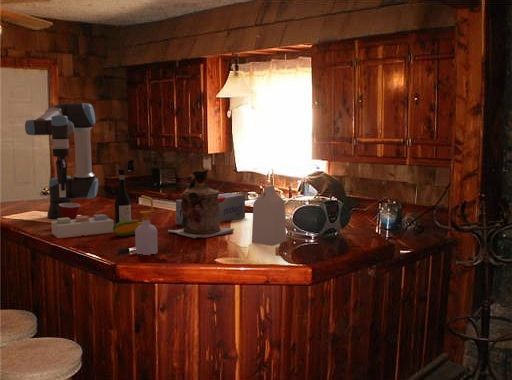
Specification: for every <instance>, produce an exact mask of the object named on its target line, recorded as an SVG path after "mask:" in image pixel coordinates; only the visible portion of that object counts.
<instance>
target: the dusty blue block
mask: <svg viewBox="0 0 512 380" xmlns="http://www.w3.org/2000/svg"><path fill="white" fill-rule="evenodd" d="M93 218H94V220H96V221H99V220H107V218H108V215H106V214H105V213H104V214H103V213H100V214H94V215H93Z"/></svg>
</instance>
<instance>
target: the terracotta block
mask: <svg viewBox="0 0 512 380" xmlns="http://www.w3.org/2000/svg"><path fill="white" fill-rule="evenodd" d="M89 218H90V216H88V215H78V216H77V217H76V222H85V221H89Z"/></svg>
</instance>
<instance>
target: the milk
mask: <svg viewBox="0 0 512 380" xmlns="http://www.w3.org/2000/svg"><path fill="white" fill-rule="evenodd" d="M252 206H253V207H252V224H251V225H252V227H251V228H252V230H251V231H252V232H251V244H257V245H264V246H269V247H270V246H271V247H274V246H277V245H280V244H282V243H284V242H285V243H286V242H287V225H286V222H287V221H286V205H285V200H284V199H283V197H281V196H280V195H279V194H278V193H277V192H276V189H275V185H273V184H271V185H266V186H265V185H264V189H263V193H261V194H260V195H259V197H257V198H256V199H255V201H254V202H253V204H252Z"/></svg>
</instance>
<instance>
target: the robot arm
mask: <svg viewBox="0 0 512 380" xmlns="http://www.w3.org/2000/svg"><path fill="white" fill-rule="evenodd" d="M95 124H96V115H95V110H94V107H93V105H92V104H91V103H84V102H80V103H79V102H76V103H74V102H72V103H71V102H69V103H68V102H65V103H64V102H63V103H58V104H56V105H52V106H51V107H48V108H47V109H46V110H45V112H44V113H43V114H42V115H41V116H39V117H37V118H35V119H26V120H25V123H24V131H25V134H27V135H28V136H34V137H35V136H51V139H52V140H51V141H50V144H52V149H51V150H52V157H56V160H55V166H56V167H55V168H56V169H55V170H56V177H52V178H51V179H50V180H49V181H48V182H49V184H48V185H49V186H48V188H49V206H48V207H49V208H48V211H47V219H50V220H51V219H52V220H57V218H62V214H61V209H60V206H59V204H61V203H73V202H72V199H75V200H76V199H81V200H82V199H87V200H88V199H95V197H97V194H98V191H99V179H98V178H97V177H96V175H95V173H94V172H93V168H92V143H91V130H92V129H93V126H94V125H95ZM72 133H73V136H74V138H73V139H74V153H75V170H76V171H75V174H73V177H71V175H67V174H68V163H67V160H66V157H69V156H70V140H69V136H70V135H71V134H72Z"/></svg>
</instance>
